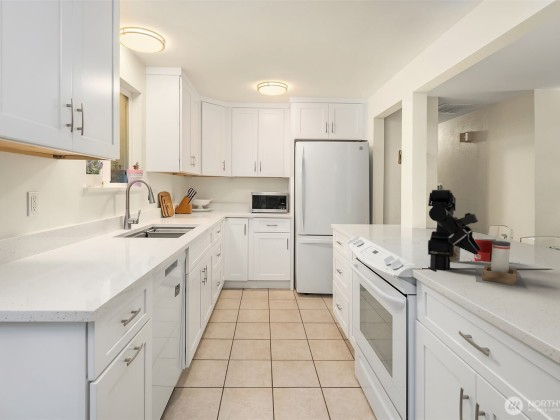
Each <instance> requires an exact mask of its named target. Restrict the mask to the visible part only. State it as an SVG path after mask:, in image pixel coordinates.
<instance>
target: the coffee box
mask: <svg viewBox="0 0 560 420" xmlns="http://www.w3.org/2000/svg"><path fill="white" fill-rule="evenodd" d="M456 243H457V242H455V243H454V244H456ZM454 244H453V245H454ZM441 253H442V252H441ZM449 253H450V252H449ZM449 259H450V263H456V264H460V261H461V248H459V247H457V246H454V256H453V257H450V258H449Z"/></svg>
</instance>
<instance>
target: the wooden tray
mask: <svg viewBox="0 0 560 420" xmlns="http://www.w3.org/2000/svg"><path fill="white" fill-rule="evenodd" d="M483 268H484V269H483V270H482V281H488V282H495V283H502V284H508V285H515V286H516V281H517V272H518V269H515V268H509V270H508V273H501V272H493V271H491V265H484V267H483Z"/></svg>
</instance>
